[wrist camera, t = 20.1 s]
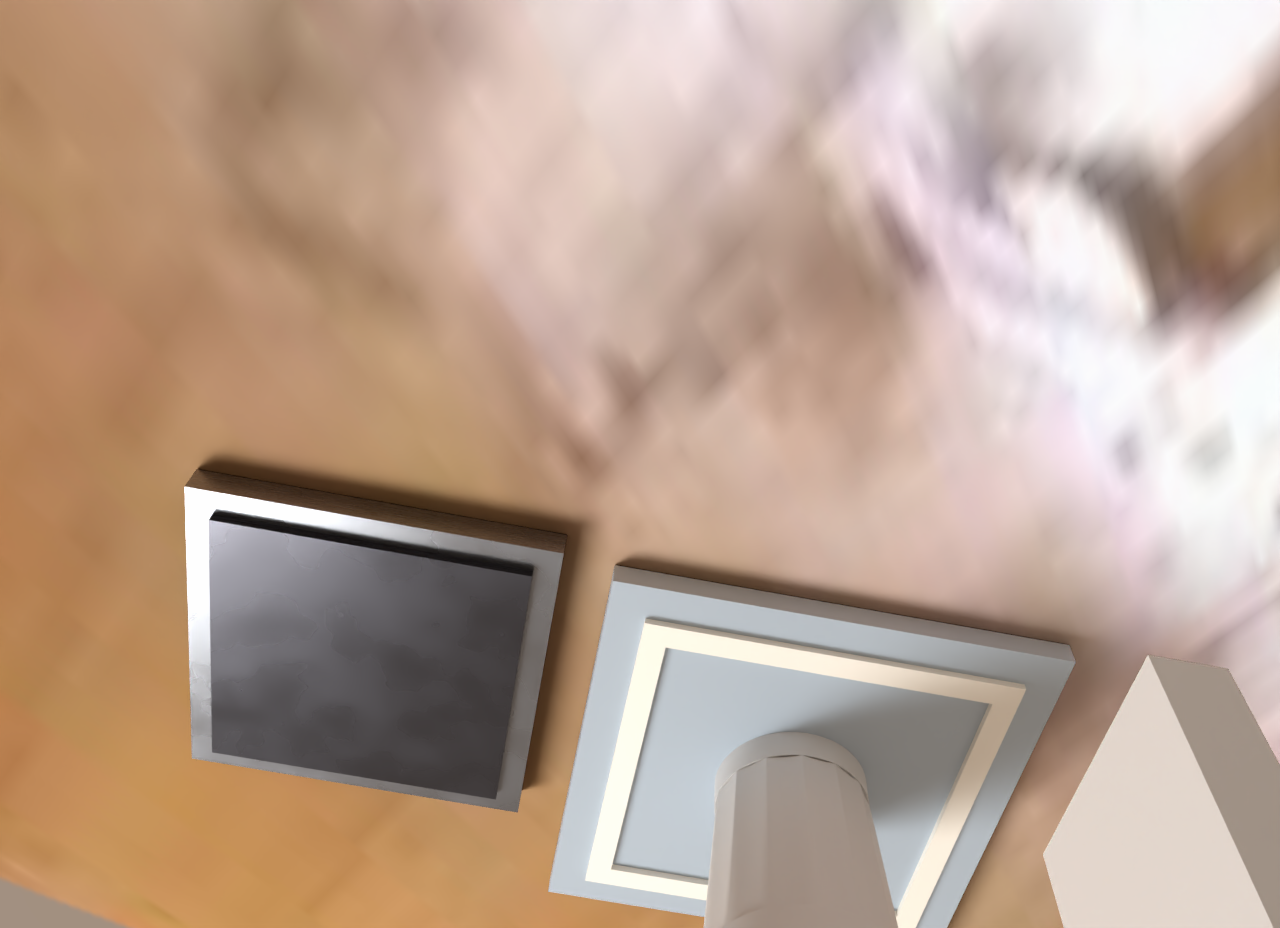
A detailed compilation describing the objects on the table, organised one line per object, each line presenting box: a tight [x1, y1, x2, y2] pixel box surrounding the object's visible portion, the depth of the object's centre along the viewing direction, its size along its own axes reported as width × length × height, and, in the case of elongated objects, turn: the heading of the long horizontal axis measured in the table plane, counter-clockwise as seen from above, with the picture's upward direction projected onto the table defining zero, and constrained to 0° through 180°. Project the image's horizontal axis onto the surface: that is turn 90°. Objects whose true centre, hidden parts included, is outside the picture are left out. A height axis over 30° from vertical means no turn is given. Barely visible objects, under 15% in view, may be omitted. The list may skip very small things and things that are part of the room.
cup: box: [704, 732, 898, 928], centre depth 46 cm, size 8×8×12 cm
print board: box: [548, 565, 1076, 928], centre depth 51 cm, size 18×18×1 cm
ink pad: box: [185, 469, 567, 812], centre depth 48 cm, size 14×14×2 cm
